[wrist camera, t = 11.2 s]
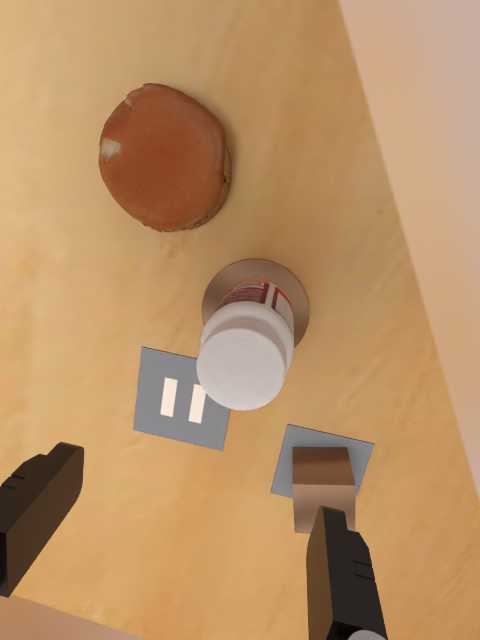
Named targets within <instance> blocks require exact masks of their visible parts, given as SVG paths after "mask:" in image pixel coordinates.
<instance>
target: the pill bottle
mask: <svg viewBox="0 0 480 640" xmlns="http://www.w3.org/2000/svg"><path fill="white" fill-rule="evenodd" d="M293 354H294V314H293V308H292V304H291V302H290V300H289V298H288V296H287V295H286V293H285V292H284V291H283V290H282V289H281V288H279V287H278V286H277V285H275V284H273V283H271V282H269V281H266V280H261V279H251V280H246V281H243V282H240V283H238V284H237V285H235V286H234V287H232V288H231V289H230V290H229V291H228V292H227V293H226V295H225V296H224V297H223V299H222V301H221V302H220V303H219V305H218V306H217V308H216V310H215V311H214V313H213V314H212V315H211V317H210V318H209V320H208V321H207V322H206V325H205V327H204V329H203V331H202V334H201V339H200V351H199V354H198V357H197V364H196V370H197V376H198V380H199V382H200V384H201V386H202V388H203V389H204V391H205V392H206V393H207V395H208V396H209V397H210V398H211V399H213V400H214V401H215V402H217V403H219V404H220V405H222V406H224V407H227V408H230V409H234V410H252V409H256V408H259V407H262V406H264V405H266V404H267V403H269V402H270V401H272V400H273V399H274V398H275V397H276V396H277V394H278V393H279V392H280V390H281V388H282V386H283V384H284V380H285V375H286V373H287V371H288V369H289V367H290V365H291V363H292V359H293Z"/></svg>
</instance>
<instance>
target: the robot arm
mask: <svg viewBox="0 0 480 640" xmlns="http://www.w3.org/2000/svg"><path fill="white" fill-rule="evenodd" d="M83 464H84V448H83V447H81V446H76V445H72V444H68V443H64V442H60V443H58V444H57V445H56V446H55V447H54V448H53V449H52V450H51V451H50V452H49V454H48V455H42V454H38V455H36V456H35V457H33V458H31V459H29V460H27V461H25V462H24V463H22V464H21V465H20V466H19V467H18V468H17V469H16V470H15V471H14V472H13V473H12V475H11V477H8V478H7V479H6V480H5V481H4V482H3V483H2V485H1V487H0V596H4V597H7V598H9V596H10V595H11V593H12V592H13V590H14V589H15V588H16V586H17V585H18V583H19V582H20V580H21V579H22V578H23V576H24V575H25V573H26V572H27V571H28V569H29V568H30V566H31V565H32V563H33V562H34V561H35V559H36V558H37V556H38V555H39V553H40V552H41V551H42V549H43V548H44V546H45V545H46V544H47V542H48V541H49V539H50V538H51V536H52V535H53V534H54V532H55V531H56V529H57V528H58V526H59V525H60V524H61V522H62V521H63V519H64V518H65V517H66V515H67V514H68V512H69V511H70V509H71V508H72V507H73V505H74V504H75V502H76V500H77V499H78V496H79V494H80V491H81V488H82V483H83ZM306 569H307V598H308V628H309V640H388V637H387V634H386V629H385V624H384V619H383V614H382V610H381V605H380V600H379V595H378V591H377V586H376V582H375V576H374V572H373V568H372V562H371V557H370V553H369V548H368V547H367V545H366V543H365V542H364V540H363V538H362V537H361V535H360V533H359V532H355V531H351V530H348V528H347V522H346V516H345V512H344V511H343V510H339V509H335V508H331V507H327V506H322V505H321V506H320V507H319V509H318V512H317V515H316V519H315V522H314V525H313V528H312V532H311V535H310V538H309V542H308V547H307V556H306Z"/></svg>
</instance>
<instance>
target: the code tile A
mask: <svg viewBox="0 0 480 640" xmlns="http://www.w3.org/2000/svg"><path fill="white" fill-rule="evenodd" d="M196 364H197V359H195V358H190V357H186V356H181V355H177V354H172V353H168V352H163V351H159V350H154V349H150V348H145V347H142V351H141V361H140V370H139V380H138V390H137V399H136V409H135V418H134V428H133V430H135V431H140V432H144V433H148V434H152V435H157V436H161V437H165V438H169V439H174V440H178V441H182V442H186V443H191V444H195V445H199V446H203V447H207V448H212V449H216V450H220V451H222V449H223V444H224V439H225V433H226V428H227V423H228V418H229V413H230V408H227V407H224V406H222V405H220V404H219V403H217V402H215V401H214V400H213V399H211V398H210V397H209V396H208V395H207V393H206V392H205V391H204V389H203V388H202V386H201V384H200V382H199V380H198V376H197V370H196Z"/></svg>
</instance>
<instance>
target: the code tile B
mask: <svg viewBox="0 0 480 640" xmlns="http://www.w3.org/2000/svg"><path fill="white" fill-rule="evenodd" d="M292 447H347V449H348V454H349V458H350V463H351V468H352V472H353V477H354V482H355V499H356V496H357V493H358V490H359V487H360V484H361V481H362V478H363V476H364V473H365V470H366V467H367V464H368V461H369V458H370V455H371V452H372V449H373V447H374V444H372V443H368V442H364V441H359V440H355V439H350V438H346V437H342V436H337V435H333V434H329V433H324V432H320V431H315V430H311V429H307V428H302V427H298V426H294V425H289V424H288V425H287V429H286V433H285V437H284V441H283V445H282V449H281V453H280V457H279V461H278V465H277V469H276V473H275V476H274V480H273V484H272V488H271V492H270V493H273V494H277V495H282V496H286V497H290V498H293V487H292Z"/></svg>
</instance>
